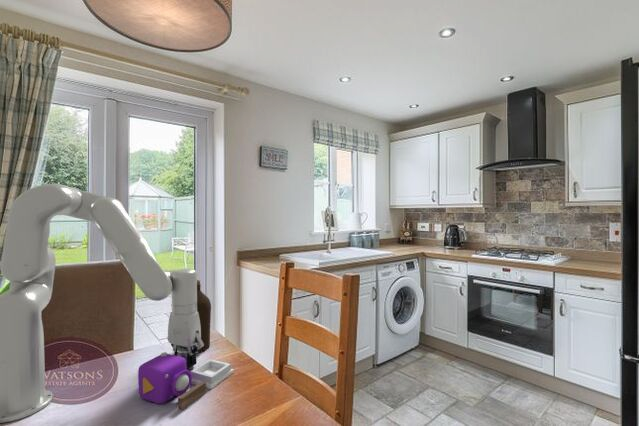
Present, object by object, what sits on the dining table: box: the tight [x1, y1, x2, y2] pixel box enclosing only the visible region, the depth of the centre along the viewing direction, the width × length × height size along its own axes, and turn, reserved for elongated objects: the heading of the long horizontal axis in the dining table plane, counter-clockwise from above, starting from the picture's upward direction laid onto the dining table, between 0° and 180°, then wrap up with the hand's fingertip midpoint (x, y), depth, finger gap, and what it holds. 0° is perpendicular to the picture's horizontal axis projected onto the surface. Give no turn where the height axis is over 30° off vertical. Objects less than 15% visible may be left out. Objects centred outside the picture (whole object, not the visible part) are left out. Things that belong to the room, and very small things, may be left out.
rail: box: [177, 381, 207, 411], centre depth 86 cm, size 2×8×3 cm, turn 157°
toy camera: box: [137, 352, 192, 405], centre depth 89 cm, size 11×14×10 cm
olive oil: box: [196, 279, 212, 354], centre depth 118 cm, size 11×11×25 cm
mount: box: [190, 358, 234, 390], centre depth 98 cm, size 9×10×3 cm
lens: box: [177, 345, 195, 371], centre depth 103 cm, size 5×5×8 cm
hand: (185, 363), depth 103 cm, fingers closed on lens, 4 cm apart
